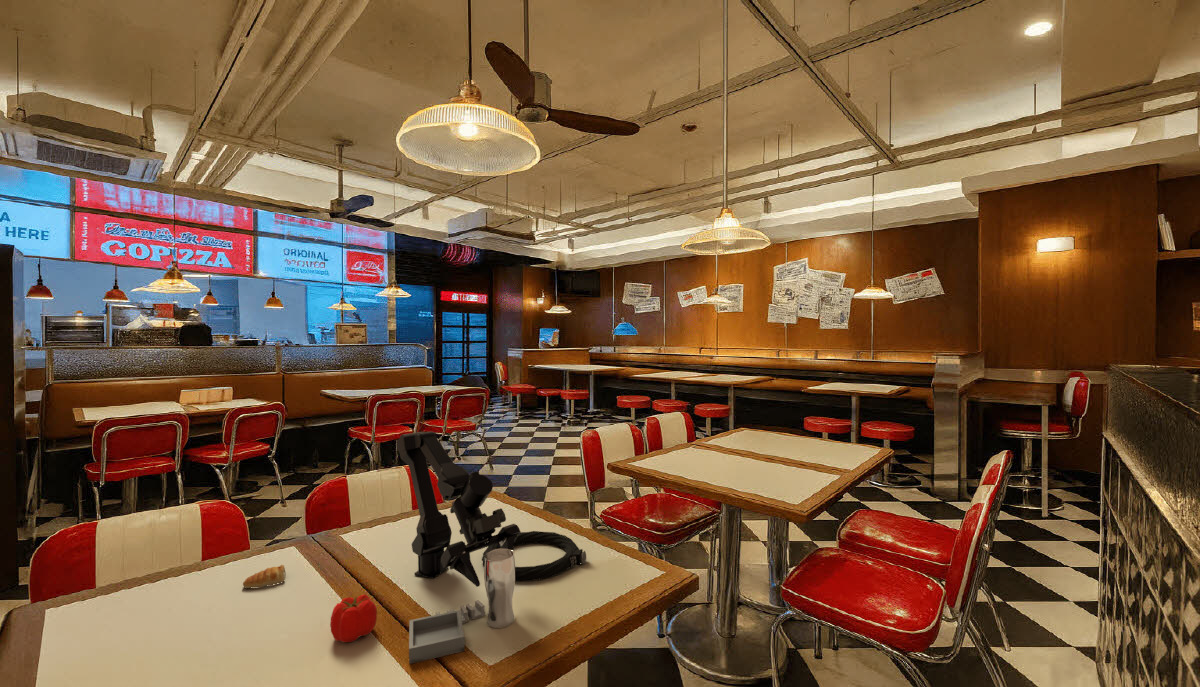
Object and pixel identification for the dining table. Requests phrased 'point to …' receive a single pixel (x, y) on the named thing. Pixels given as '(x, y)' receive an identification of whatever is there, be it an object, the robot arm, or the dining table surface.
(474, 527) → the robot arm
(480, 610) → the clip
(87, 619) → the dining table surface
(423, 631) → the holder
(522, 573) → the cable lock
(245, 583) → the pastry
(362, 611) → the tomato
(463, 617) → the clip
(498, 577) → the beer glass
